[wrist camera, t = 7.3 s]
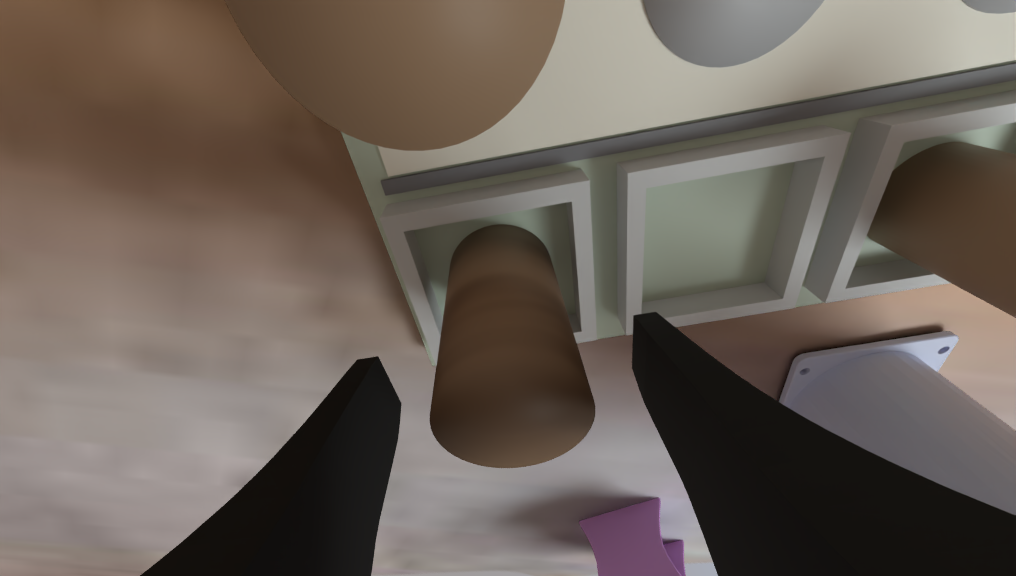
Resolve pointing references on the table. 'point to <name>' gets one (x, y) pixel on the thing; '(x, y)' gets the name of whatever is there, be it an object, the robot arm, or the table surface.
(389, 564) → the table surface
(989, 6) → the pin board
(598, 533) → the toy chair
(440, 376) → the walnut pin
